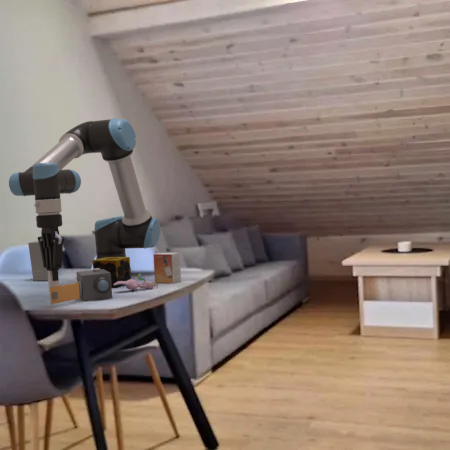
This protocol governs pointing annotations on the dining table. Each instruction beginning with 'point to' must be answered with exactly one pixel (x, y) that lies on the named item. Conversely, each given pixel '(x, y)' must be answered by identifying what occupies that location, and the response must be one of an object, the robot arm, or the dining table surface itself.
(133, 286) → the pink creature figurine
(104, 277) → the camera body
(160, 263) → the small box
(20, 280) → the dining table surface
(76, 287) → the side door
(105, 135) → the robot arm
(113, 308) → the dining table surface
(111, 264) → the candle
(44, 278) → the skincare box
